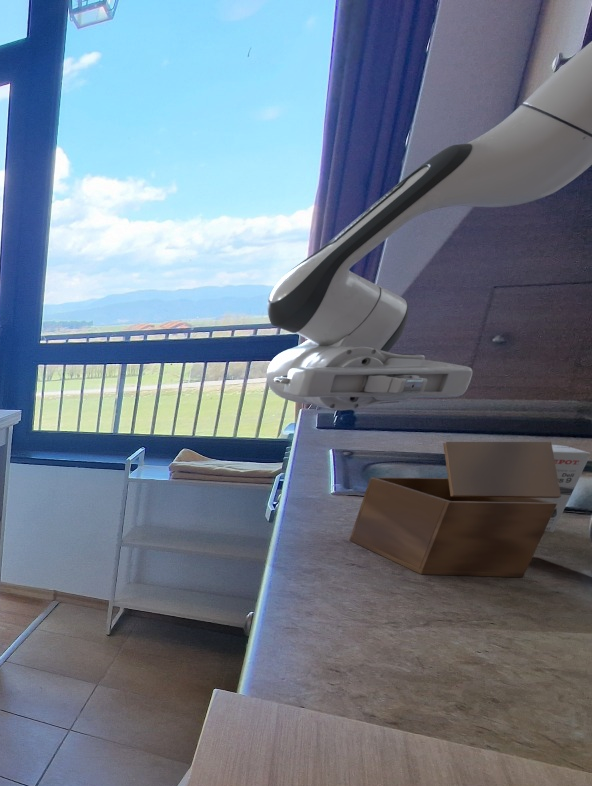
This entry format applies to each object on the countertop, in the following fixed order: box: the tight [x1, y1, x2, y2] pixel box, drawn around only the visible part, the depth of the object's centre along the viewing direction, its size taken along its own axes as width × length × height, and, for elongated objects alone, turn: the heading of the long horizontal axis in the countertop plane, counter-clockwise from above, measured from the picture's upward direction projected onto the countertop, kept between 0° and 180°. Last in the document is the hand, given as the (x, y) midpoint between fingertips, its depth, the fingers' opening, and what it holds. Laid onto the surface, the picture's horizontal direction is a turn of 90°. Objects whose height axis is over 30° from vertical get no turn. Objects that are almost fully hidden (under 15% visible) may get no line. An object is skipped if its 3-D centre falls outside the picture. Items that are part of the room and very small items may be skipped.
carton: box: [348, 476, 557, 578], centre depth 75 cm, size 10×13×8 cm
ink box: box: [537, 444, 592, 533], centre depth 81 cm, size 9×5×12 cm, turn 68°
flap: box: [442, 441, 561, 498], centre depth 68 cm, size 10×6×1 cm
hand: (413, 386), depth 80 cm, fingers closed
